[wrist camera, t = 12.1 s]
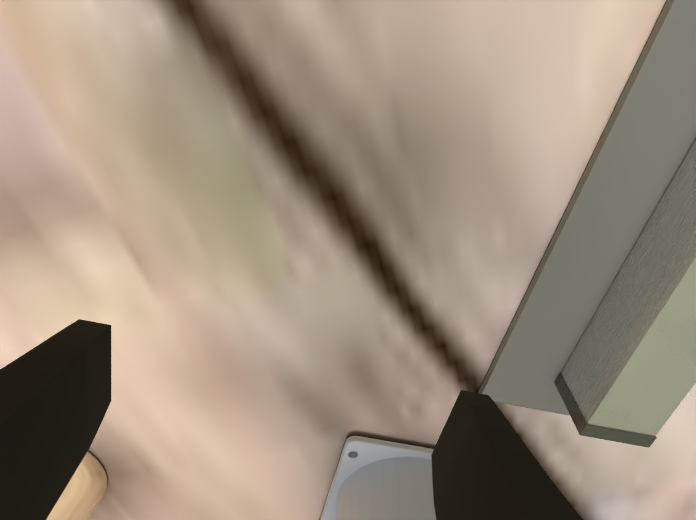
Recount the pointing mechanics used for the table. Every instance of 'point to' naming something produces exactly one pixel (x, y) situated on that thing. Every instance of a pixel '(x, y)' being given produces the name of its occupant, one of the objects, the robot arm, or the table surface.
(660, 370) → the rail
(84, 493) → the beer glass
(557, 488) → the robot arm
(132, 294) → the table surface
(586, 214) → the pad
